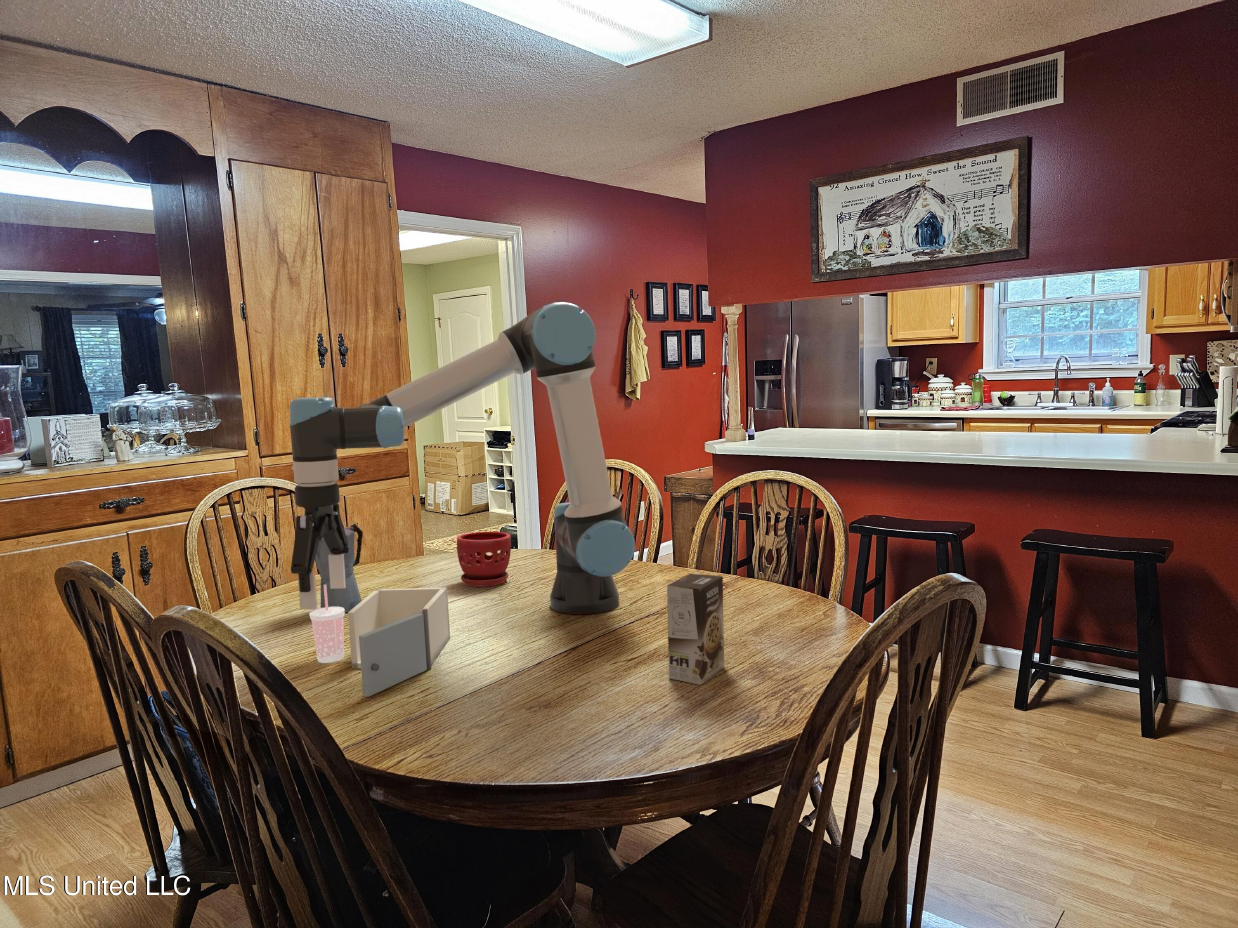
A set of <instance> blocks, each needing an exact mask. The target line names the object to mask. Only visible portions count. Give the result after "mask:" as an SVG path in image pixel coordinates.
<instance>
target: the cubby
mask: <svg viewBox="0 0 1238 928" xmlns="http://www.w3.org/2000/svg"><path fill="white" fill-rule="evenodd" d="M361 600H362V601H361V602H360V603H359V604H358V605H356V606H355V607H354V608H353V609H352V610H350V611H349V612H347V616H348V617H347V619H348V620H347V622H348V630H349V631H348V632H349V643H350V644H349V645H350V646H349V647H350V657H351V668H352V669H353V670H354V669H355V670H359V669H360V670H361V659H360V646H359V636H360V635H362V634H365V633H368V632H370V631H373V630H376V629H378V628H381V627H384V626H386V625H389V624H392V623H394V622H397V621H400V620H402V619H405V618H408V617H410V616H413V615H415V614H418V613H419V614H423V617H424V632H425V648H426V663H427V670H426V671H431V670H432V665H433V664H434V662H435V661H436V659H437V658H438V656H439V655H440V654H441V652H443V650H444V648H445V647H446V646H447V644H448V642H449V641H450V640H451V631H450V627H451V626H450V614H449V597H448V587H418V588H417V587H412V588H410V587H409V588H408V587H407V588H376V589H374V590H373V591H372V592H371V593H369V595H368V596H366V597H364V599H361ZM352 669H351V670H352Z"/></svg>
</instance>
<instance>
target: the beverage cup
mask: <svg viewBox="0 0 1238 928" xmlns="http://www.w3.org/2000/svg"><path fill="white" fill-rule="evenodd" d="M324 596H325V608H321V607H319V608H317V609H312V610H311V611H310V612H309V619H310V620H311V625H312V632H313V639H314V647H315V651H316V658H317V662H318V663H322V664H330V663H331V664H332V663H335V662H338V661H341V660H343V659H344V656H345V640H344V639H345V637H344V636H345V635H344V634H345V633H344V628H345V627H344V623H345V622H344V616H345V614H346V613H345V612H344V611H345V609H344V608H342V607H328V599H327V587H326V585H324Z"/></svg>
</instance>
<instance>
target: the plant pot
mask: <svg viewBox="0 0 1238 928" xmlns="http://www.w3.org/2000/svg"><path fill="white" fill-rule="evenodd" d="M511 548H512V536H511V534H509V532H508V533H507V532H505V531H504V532H503V531H478V532H467V533H462V534H460V535H457V537H456V550H457V551H456V553H457V559H458V563H459V566H460V569H461V571H462V573H463V574H462V575H460V580H461V582H463V583H464V584H465V585H466V586H469V587H470V586H471V587H475V588H480V587H481V588H482V587H483V588H484V587H485V588H486V587H492V586H497V585H500V584H502V583H504V582H506V580H507V579H508V578H509V572H507V569H508V566H509V564H510V559H511V551H512V549H511ZM499 551H500V552H499ZM487 553H491V554H490V555H489V554H487Z"/></svg>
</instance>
